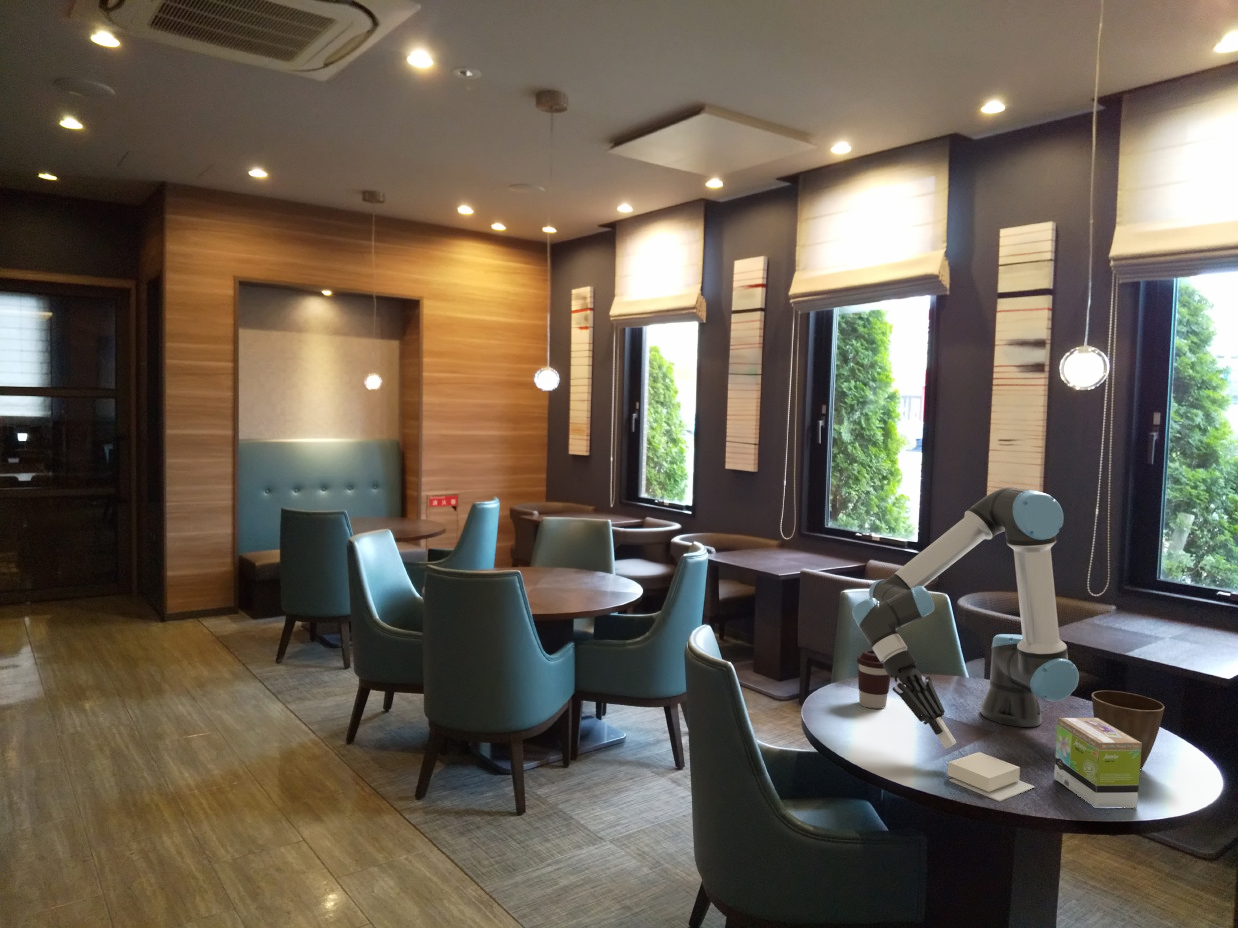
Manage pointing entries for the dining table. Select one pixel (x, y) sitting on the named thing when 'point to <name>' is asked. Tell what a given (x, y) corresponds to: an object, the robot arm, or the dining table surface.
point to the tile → (983, 771)
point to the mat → (998, 793)
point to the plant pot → (1130, 716)
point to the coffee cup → (872, 681)
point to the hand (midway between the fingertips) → (951, 745)
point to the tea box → (1098, 762)
